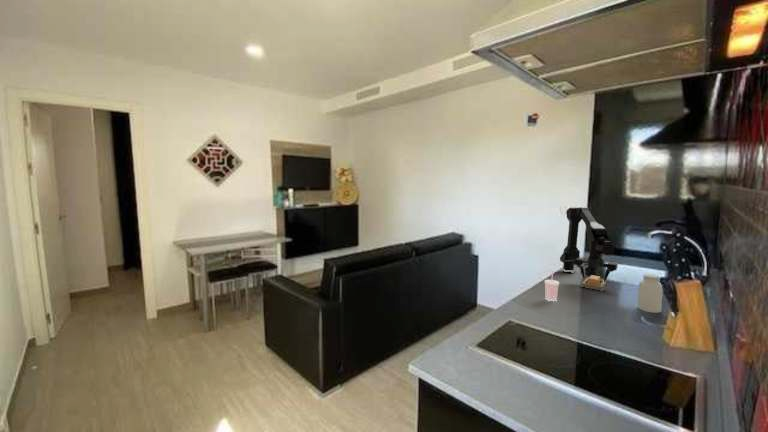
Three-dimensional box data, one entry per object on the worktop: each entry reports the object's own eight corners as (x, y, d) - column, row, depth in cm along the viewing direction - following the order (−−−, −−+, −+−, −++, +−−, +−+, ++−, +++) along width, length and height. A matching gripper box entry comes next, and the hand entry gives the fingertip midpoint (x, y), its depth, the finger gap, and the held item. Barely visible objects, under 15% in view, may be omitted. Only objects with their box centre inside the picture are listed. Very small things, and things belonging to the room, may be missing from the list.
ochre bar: (597, 287, 169) (597, 279, 169) (588, 285, 172) (588, 278, 171) (599, 283, 175) (600, 276, 175) (590, 282, 178) (591, 275, 177)
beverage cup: (540, 299, 154) (542, 269, 152) (550, 297, 156) (551, 268, 155) (551, 303, 148) (553, 273, 147) (561, 301, 151) (563, 271, 149)
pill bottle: (639, 305, 146) (642, 272, 145) (663, 310, 140) (666, 276, 139) (634, 309, 141) (637, 275, 140) (658, 315, 135) (661, 279, 134)
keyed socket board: (585, 280, 183) (585, 276, 182) (607, 284, 176) (607, 280, 176) (580, 287, 171) (580, 283, 171) (602, 291, 164) (603, 287, 164)
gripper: (572, 251, 172) (570, 280, 173) (616, 256, 159) (613, 287, 161) (577, 247, 180) (575, 275, 182) (618, 252, 168) (616, 282, 169)
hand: (594, 280), depth 173 cm, fingers open, 9 cm apart
